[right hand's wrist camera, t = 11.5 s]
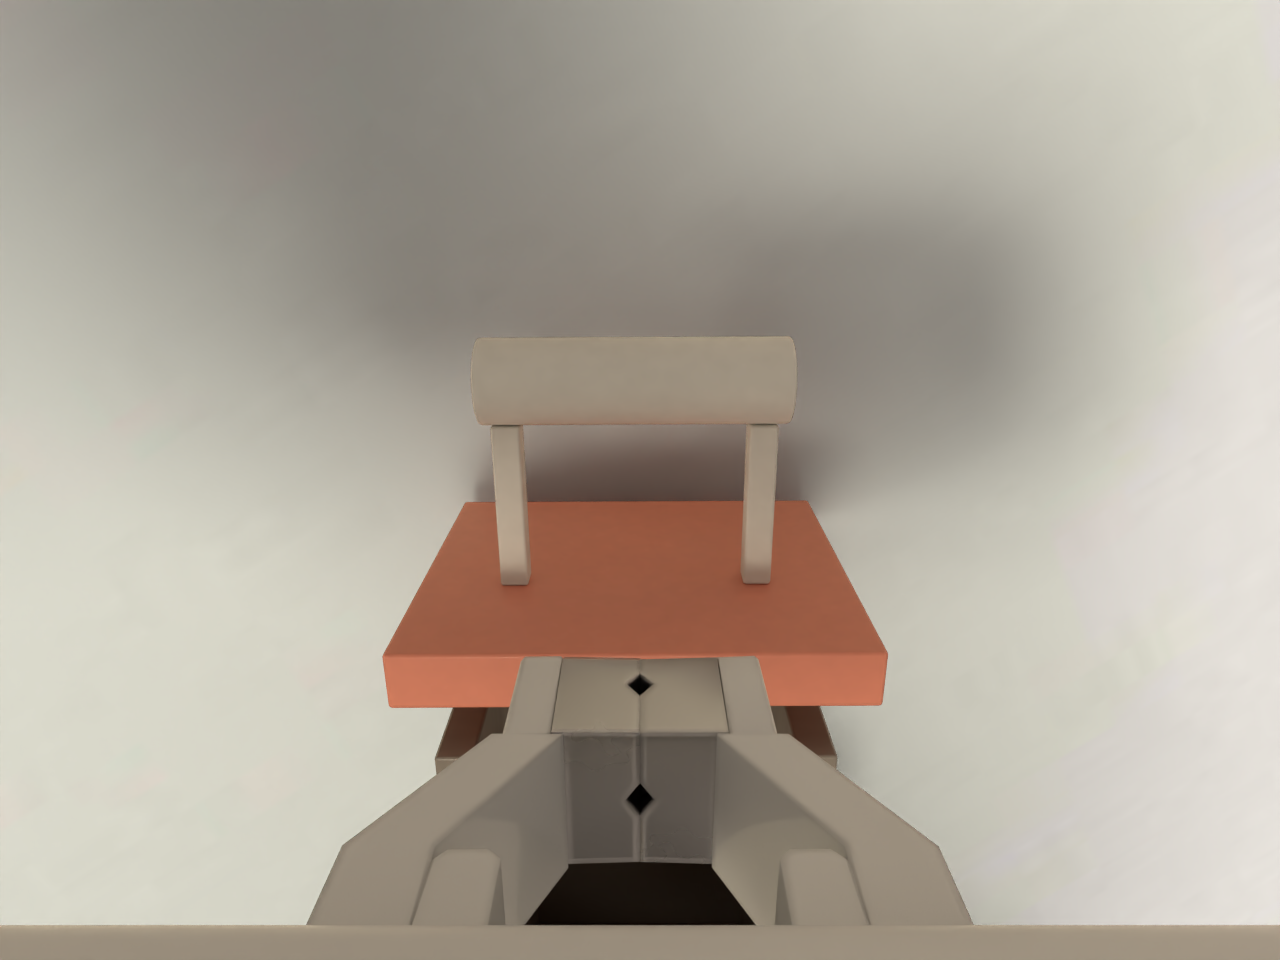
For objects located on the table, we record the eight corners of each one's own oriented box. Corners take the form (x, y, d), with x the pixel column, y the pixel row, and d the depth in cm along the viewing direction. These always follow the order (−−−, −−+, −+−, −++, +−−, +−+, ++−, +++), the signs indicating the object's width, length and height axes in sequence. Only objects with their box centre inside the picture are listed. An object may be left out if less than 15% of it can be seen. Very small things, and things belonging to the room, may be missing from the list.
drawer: (447, 304, 21) (343, 372, 13) (822, 302, 21) (923, 369, 13) (499, 912, 28) (449, 1174, 20) (778, 911, 28) (828, 1173, 20)
